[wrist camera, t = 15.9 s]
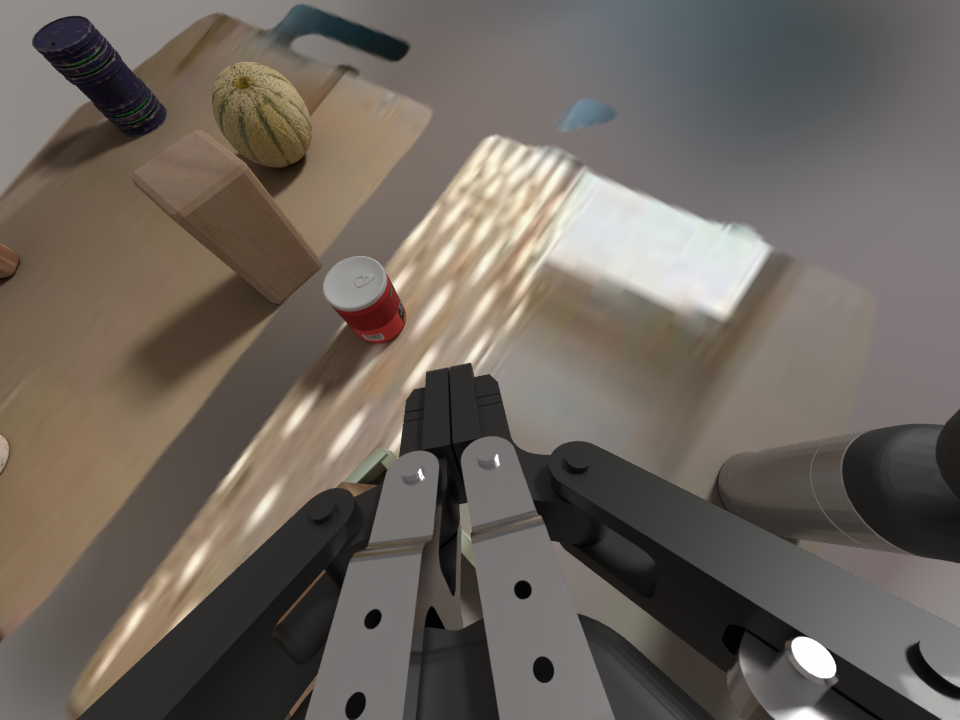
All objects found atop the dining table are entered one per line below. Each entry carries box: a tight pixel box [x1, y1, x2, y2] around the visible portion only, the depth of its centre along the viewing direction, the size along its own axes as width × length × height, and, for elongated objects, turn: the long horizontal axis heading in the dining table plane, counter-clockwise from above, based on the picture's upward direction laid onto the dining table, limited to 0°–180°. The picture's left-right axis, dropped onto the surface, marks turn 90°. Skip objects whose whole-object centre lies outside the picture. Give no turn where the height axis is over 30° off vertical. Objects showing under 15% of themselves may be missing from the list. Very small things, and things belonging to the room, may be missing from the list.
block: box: [131, 130, 322, 304], centre depth 50 cm, size 10×10×20 cm
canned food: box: [323, 256, 406, 343], centre depth 50 cm, size 8×8×11 cm
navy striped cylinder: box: [32, 16, 167, 136], centre depth 68 cm, size 10×10×15 cm
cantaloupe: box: [212, 62, 312, 167], centre depth 61 cm, size 15×15×15 cm
